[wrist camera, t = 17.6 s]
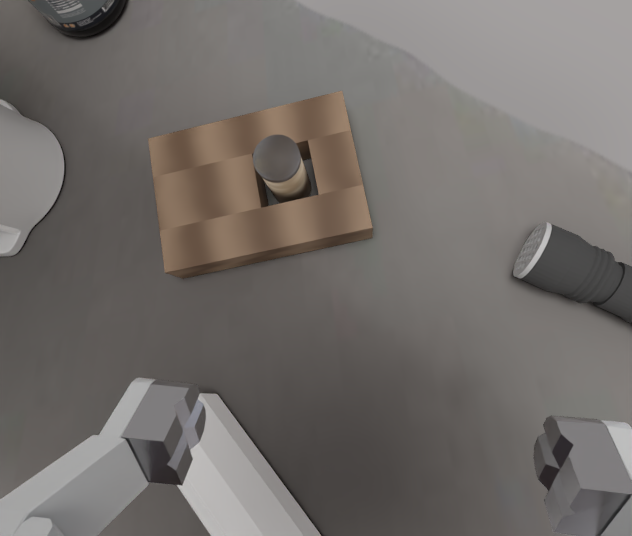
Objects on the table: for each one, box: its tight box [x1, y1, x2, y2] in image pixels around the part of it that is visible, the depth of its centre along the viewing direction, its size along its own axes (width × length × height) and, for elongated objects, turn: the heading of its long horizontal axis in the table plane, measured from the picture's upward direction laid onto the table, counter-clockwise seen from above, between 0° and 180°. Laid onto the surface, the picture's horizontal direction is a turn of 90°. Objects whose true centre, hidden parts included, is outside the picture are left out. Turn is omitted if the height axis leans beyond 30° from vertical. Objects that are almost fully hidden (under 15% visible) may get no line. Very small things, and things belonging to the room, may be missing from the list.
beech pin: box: [253, 134, 311, 203], centre depth 41 cm, size 4×4×8 cm
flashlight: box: [513, 222, 632, 323], centre depth 37 cm, size 15×5×5 cm, turn 63°
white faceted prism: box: [177, 393, 321, 536], centre depth 38 cm, size 7×7×24 cm
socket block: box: [148, 91, 373, 278], centre depth 43 cm, size 20×14×4 cm
